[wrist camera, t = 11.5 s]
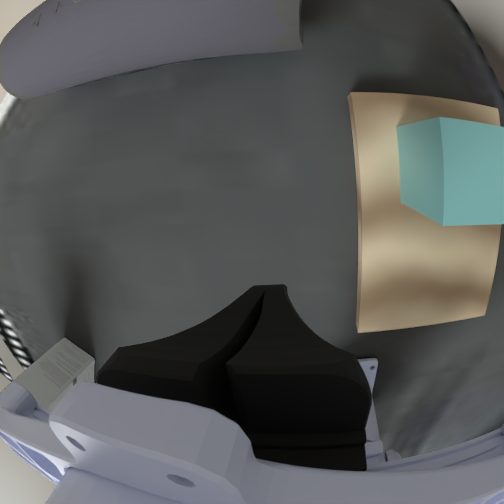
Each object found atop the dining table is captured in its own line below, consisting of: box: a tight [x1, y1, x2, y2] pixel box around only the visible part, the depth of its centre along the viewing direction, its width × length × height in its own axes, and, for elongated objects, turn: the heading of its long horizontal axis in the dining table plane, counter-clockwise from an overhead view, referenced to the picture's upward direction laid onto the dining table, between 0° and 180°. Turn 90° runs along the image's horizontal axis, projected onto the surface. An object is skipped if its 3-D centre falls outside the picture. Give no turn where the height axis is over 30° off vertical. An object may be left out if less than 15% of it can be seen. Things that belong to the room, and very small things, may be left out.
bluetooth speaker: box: [0, 0, 303, 99], centre depth 12 cm, size 23×9×10 cm, turn 88°
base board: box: [347, 92, 501, 333], centre depth 18 cm, size 18×13×2 cm
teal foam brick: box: [396, 117, 504, 226], centre depth 13 cm, size 5×5×7 cm
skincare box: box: [0, 337, 95, 412], centre depth 25 cm, size 8×6×15 cm
